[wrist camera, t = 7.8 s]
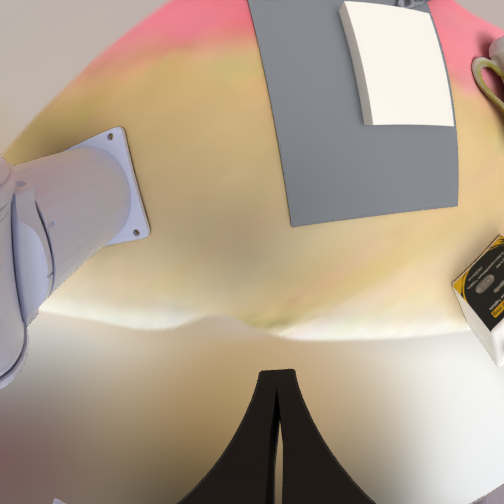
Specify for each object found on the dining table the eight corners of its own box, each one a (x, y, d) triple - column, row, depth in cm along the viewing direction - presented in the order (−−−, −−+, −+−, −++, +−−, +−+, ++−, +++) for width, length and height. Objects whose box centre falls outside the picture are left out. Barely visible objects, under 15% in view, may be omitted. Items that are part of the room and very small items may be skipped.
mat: (291, 225, 18) (291, 227, 18) (246, -4, 11) (246, -6, 11) (455, 204, 16) (457, 206, 16) (425, 3, 10) (426, 2, 9)
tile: (373, 124, 13) (453, 126, 12) (344, 1, 9) (429, 13, 9) (363, 125, 14) (439, 125, 14) (337, 11, 11) (417, 20, 10)
